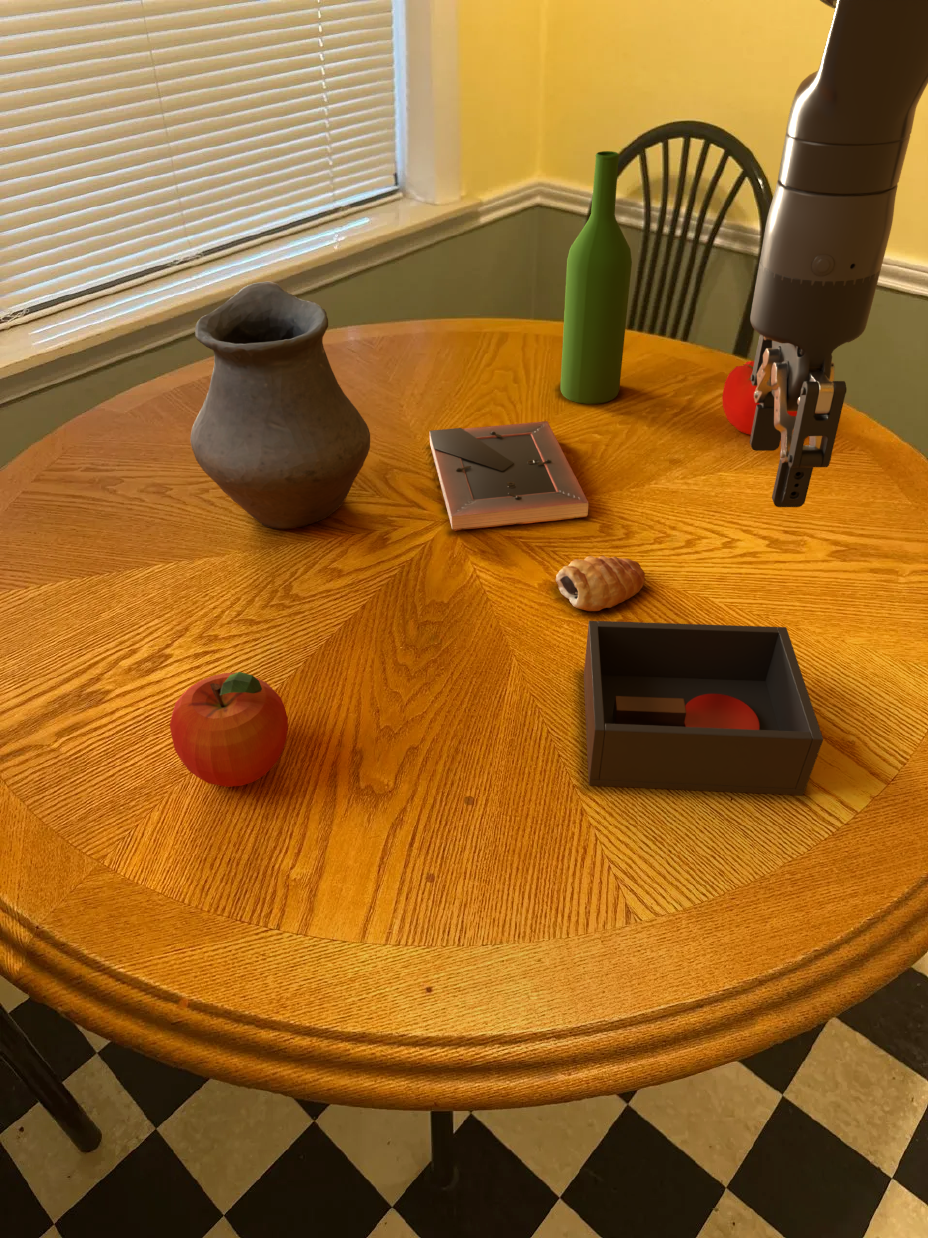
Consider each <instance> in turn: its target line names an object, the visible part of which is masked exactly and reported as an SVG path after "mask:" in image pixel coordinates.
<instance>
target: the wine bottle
mask: <svg viewBox="0 0 928 1238" xmlns="http://www.w3.org/2000/svg"><path fill="white" fill-rule="evenodd" d="M619 158H620V154H619V153H618V152H616V151H610V150H603V151H599V152H596V153H595V163H594V172H593V173H594V175H593V187H592V198H591V200H592V201H591V208H590V209H591V210H590V213H591V214H590V216H589V218H588V220H587V221H586V223H585V225H584V226H583V228H582V229H581V230H580V232H579V233H578V235H577V237H576V238H575V239H574V241H573V243H572V244H571V246H570V248H569V251H568V255H567V257H566V273H565V291H564V292H565V294H564V309H563V310H564V312H563V331H562V351H561V367H560V369H561V370H560V390H559V391H560V393H561V394H562V396H563V397H564V398H565V399H567V400H569V401H570V402H575V403H577V404H583V405H598V404H605V403H608V402H611V401H613V400H614V399H616V398H617V396H618V395H619V392H620V388H621V387H620V386H621V377H622V368H623V367H622V366H623V357H624V347H625V338H626V337H625V336H626V327H627V317H628V306H629V296H630V288H631V287H630V285H631V275H632V265H633V261H632V259H633V258H632V251H631V247H630V245H629V243H628V241H627V238H626V237H625V234H624V233H623V231H622V228H621V227H620V225H619V223H618V221H617V217H616V200H617V189H618V188H617V187H618V186H617V185H618V172H619V171H618V170H619Z"/></svg>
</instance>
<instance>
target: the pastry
mask: <svg viewBox="0 0 928 1238" xmlns="http://www.w3.org/2000/svg"><path fill="white" fill-rule="evenodd" d="M645 581H646V574H645V571H644V570H643V568H642V567H641V564H640V562H638V561H635V560H633V559H629V558H622V557H620V558H619V557H617V556H612V557H607V556H605V555H600V556H598V557H595V556H593V555H588V556H586V557H585V558H584V559H578V558H575V559H573V560H571V561H570V562H569V564H568V565H564V566H563V567H562V568H561V569H560V570H559V571H558V572H557V573H556V575H555V582H556V584H557V586H558V590H559V592H560V594H561V595H562V596H563V597H564V598H565V599H568V600H569V602H570V604H571V605H572V606H573V607H574V608H577V609H579V610H583V611H586V612H599V611H601V610H604V609H606V608H608V609H610V608H613V607H615V606H617V605H619V604H621V603H623V602H625V601H626V600H629V599H630V598H632V597H634V596H635V595H637V594H639V592H640V591H641V589H642V588H643V587H644V585H645Z"/></svg>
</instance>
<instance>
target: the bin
mask: <svg viewBox="0 0 928 1238" xmlns="http://www.w3.org/2000/svg"><path fill="white" fill-rule="evenodd" d="M586 636H587V637H586V645H585V648H586V649H585V656H584V657H585V658H584V666H583V667H584V669H583V688H584V689H583V691H584V706H585V707H584V711H585V732H586V733H585V734H586V751H587V752H586V754H587V755H586V757H587V777H588V778H587V780H588V785H589V786H594V787H595V786H596V787H616V788H634V789H635V788H636V789H657V790H677V791H679V790H681V791H700V792H701V791H702V792H703V791H704V792H720V793H721V792H723V793H724V792H725V793H741V794H742V793H743V794H744V793H745V794H765V795H766V794H769V795H785V796H786V795H787V796H804V795H805V791H806V789H807V786H808V784H809V780H810V779H811V778H810V777H811V775H812V772H813V769H814V766H815V764H816V762H817V758H818V756H819V753H820V751H821V747H822V744H823V742H824V736H823V734H822V731H821V728H820V725H819V722H818V720H817V719H818V718H817V715H816V712H815V710H814V706H813V704H812V701H811V698H810V695H809V692H808V689H807V685H806V683H805V680H804V677H803V673H802V670H801V668H800V664H799V663H798V662H799V661H798V658H797V655H796V653H795V650H794V647H793V643H792V640H791V637H790V634H789V631H788V629H787V627H786V626H762V625H731V624H727V625H726V624H705V623H704V624H703V623H700V624H699V623H676V622H675V623H674V622H673V623H670V622H669V623H668V622H645V621H644V622H643V621H641V622H640V621H612V620H611V621H610V620H608V621H607V620H598V621H597V620H588V626H587V635H586ZM704 694H722V695H727V696H731V697H734V698H736V699H738V700H740V701H742V702H744V703H745V704H746V705H748V706H749V707H750V708H751V709H752V710H753V711H754V713H755V714H756V716H757V718H758V720H759V724H760V729H759V730H749V729H725V728H701V727H677V726H653V725H629V724H614V723H613V709H614V702H615V696H630V697H656V698H683V699H684V702H685V705H686V704H687V703H688V702H689V701H690V700H692V699H693V698H695V697H697V696H700V695H704Z"/></svg>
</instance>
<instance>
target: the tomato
mask: <svg viewBox="0 0 928 1238" xmlns="http://www.w3.org/2000/svg"><path fill="white" fill-rule="evenodd" d="M754 361H755V360H750V361H746V362H745V363H744V364H743V363H742V365H737V366H735V367H734V368H733V369H732V370H730V372H729V373H728V375H727V376H726V379H725V381H724V384H723V385H724V386H723V390H722V395H721V396H722V398H721V400H722V408H723V411H724V415H725V417H726V419H727V421H728V422H729V424H730V425H731V426H733V427H734V428H735V429H736V430H737V431H739V432H740V433H742V434H746V435H748V436H751V432H752V426H753V421H754V416H755V410H756V405H759V403H755V398H754V392H755V390H756V387H757V386H752V382H751V375H752V372H753V367H754ZM787 413H788V414H789V415H791V416H797V411H787Z"/></svg>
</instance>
